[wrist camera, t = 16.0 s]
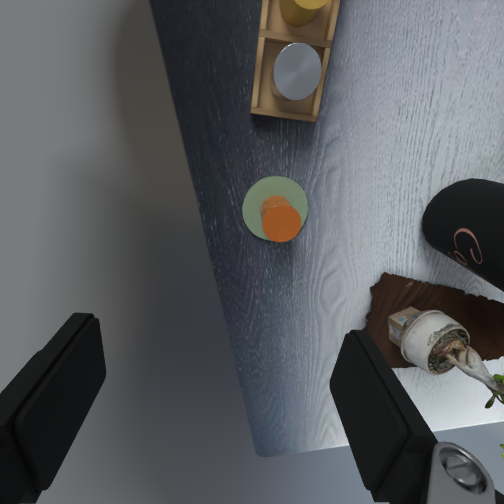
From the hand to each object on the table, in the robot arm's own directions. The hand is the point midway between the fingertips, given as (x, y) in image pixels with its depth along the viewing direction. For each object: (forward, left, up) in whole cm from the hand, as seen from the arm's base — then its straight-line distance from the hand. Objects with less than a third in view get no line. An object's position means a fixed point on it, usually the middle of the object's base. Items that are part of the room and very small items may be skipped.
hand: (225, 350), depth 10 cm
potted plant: (+33, -20, -28) cm, 48 cm away
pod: (+6, -2, -28) cm, 28 cm away
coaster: (+6, -2, -28) cm, 29 cm away
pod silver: (+5, +13, -28) cm, 31 cm away
